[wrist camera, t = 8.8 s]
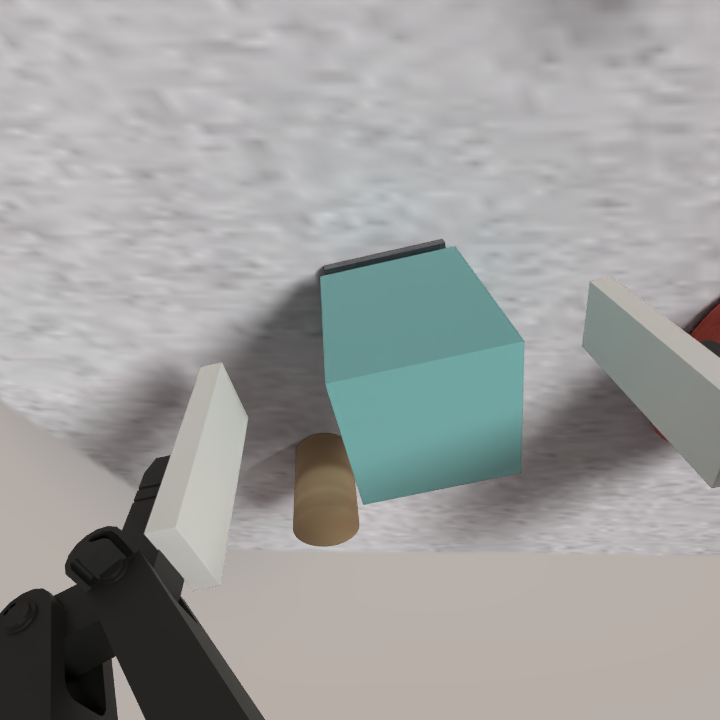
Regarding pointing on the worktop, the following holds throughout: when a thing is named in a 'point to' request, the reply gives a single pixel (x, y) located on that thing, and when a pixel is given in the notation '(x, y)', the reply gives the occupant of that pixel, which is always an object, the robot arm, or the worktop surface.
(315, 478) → the oak stub
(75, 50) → the worktop surface
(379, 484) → the teal rectangular prism
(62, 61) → the worktop surface
